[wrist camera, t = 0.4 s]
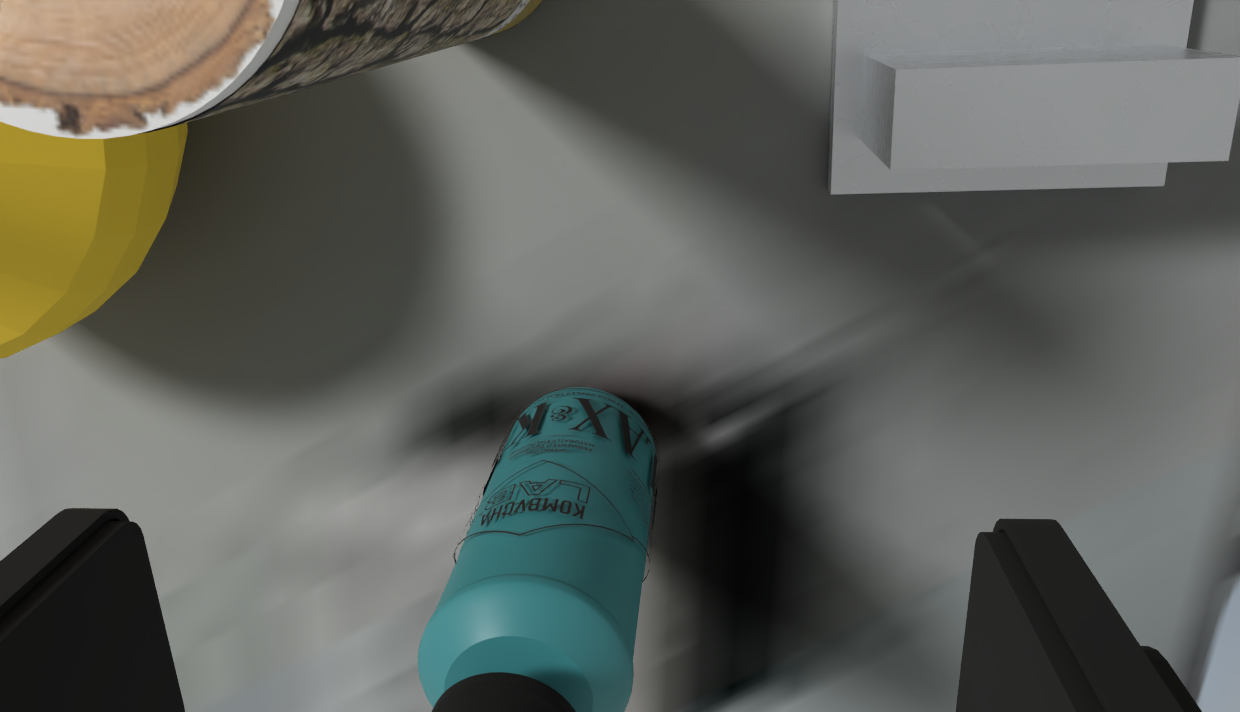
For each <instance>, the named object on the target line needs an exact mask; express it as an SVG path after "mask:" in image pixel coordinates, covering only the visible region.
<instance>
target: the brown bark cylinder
mask: <svg viewBox="0 0 1240 712" xmlns="http://www.w3.org/2000/svg"><path fill="white" fill-rule="evenodd" d="M541 1H542V0H0V122H3V123H6V124H9V125H12V126H15V127H18V128H22V129H25V130H28V131H32V132H37V133H42V134H46V135H51V136H57V137H67V138H77V139H106V138H114V137H123V136H130V135H134V134H140V133H149V132H153V131H157V130H161V129H165V128H169V127H173V126H177V125H180V124H184V123H187V122H191V121H194V120H198V119H201V118H205V117H208V116H212V115H215V114H219V113H222V112H226V111H229V110H233V109H236V108H240V107H243V106H247V105H250V104H254V103H257V102H261V101H264V100H268V99H271V98H275V97H278V96H282V95H285V94H289V93H292V92H296V91H299V90H303V89H306V88H310V87H313V86H317V85H320V84H324V83H327V82H331V81H334V80H338V79H341V78H345V77H348V76H352V75H355V74H359V73H362V72H366V71H369V70H373V69H376V68H380V67H383V66H387V65H390V64H394V63H397V62H401V61H404V60H408V59H411V58H415V57H418V56H422V55H425V54H429V53H432V52H436V51H439V50H443V49H446V48H449V47H453V46H456V45H460V44H463V43H467V42H470V41H472V40H473V41H474V40H477V39H480V38H483V37H486V36H489V35H492V34H496V33H499V32H502V31H504V30H507V29H509V28H511V27H513V26H515V25H516V24H518V23H519V22H521V21H522V20H524V19H525V18H526V17H527V16H528V15H530V14H531V13H532V12H533V11H534V10H535V9H536V8H537V6H538V5H539V4H540V3H541Z"/></svg>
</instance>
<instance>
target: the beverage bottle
mask: <svg viewBox="0 0 1240 712" xmlns="http://www.w3.org/2000/svg"><path fill="white" fill-rule="evenodd" d="M544 395H545V396H543V395H542V396H543V397H542V398H540V399H538V400H537V401H535V402H534V403H533V404H531V405H530V406H529V407H528V408H526V410H524V411H523V412H522V413H521V416H520V417H519V416H518V417H519V419H518V420H517V421H516V422H515V423H514V424H515V425H514V424H513V425H512V424H510V425H512V426H511V427H513V426H514V427H513V429H512V428H511V429H512V431H511V430H510V431H511V433H510V431H509V433H510V436H509V438H508V440H507V443H506V445H505V447H504V450H503V451H502V454H501V455H500V459H499V461H498V459H497V457H498V458H499V456H498V455H499V454H498V453H501V452H500V451H501V450H502V448H501V447H503V446H500V448H501V450H500V449H499V450H500V451H498V453H497V455H496V458H495V460H494V463H495V462H496V463H495V465H494V463H493V465H494V468H493V470H492V472H491V474H490V477H489V479H488V481H487V484H486V486H484V487H485V488H484V491H483V498H482V501H481V503H480V505H479V507H478V509H477V510H476V507H475V510H476V511H477V512H476V511H475V512H476V515H475V517H474V519H472V520H473V521H472V524H470V525H471V526H470V529H469V531H467V532H468V533H467V536H466V538H464V539H463V540H464V543H463V545H462V547H461V550H460V553H459V556H458V560H457V562H456V560H455V567H454V569H453V571H452V574H451V576H450V578H449V581H448V583H447V585H446V587H445V590H444V592H443V594H442V597H441V599H440V601H439V604H438V606H437V608H436V610H435V612H434V614H433V615H432V617H431V618H430V620H429V622H428V624H427V626H426V628H425V630H424V633H423V636H422V639H421V642H420V646H419V652H418V669H419V676H420V680H421V683H422V686H423V689H424V692H425V694H426V696H427V698H428V700H429V702H430V704H431V705H432V707H433V710H432V712H624V711H625V708H626V706H627V704H628V702H629V698H630V695H631V691H632V684H633V675H634V674H633V654H634V645H635V637H636V629H637V620H638V612H639V604H640V595H641V587H642V582H643V581H644V580H645V579H644V580H643V578H644V570H645V561H646V552H647V542H648V533H649V530H650V529H649V524H650V520H651V518H650V514H651V511H652V510H651V505H652V502H653V500H652V496H653V495H654V487H655V486H654V485H656V484H655V476H656V466H657V463H658V461H657V456H656V451H655V447H656V445H655V443H654V440H653V438H652V436H651V434H650V432H649V430H648V428H647V426H646V424H647V423H646V424H645V423H644V421H645V420H644V419H643V418H641V417H640V416H641V415H640V414H639V413H638V412H637V411H635V410H634V409H633V408H632V407H631V406H630V405H629V404H627V403H626V402H624V401H623V400H622V399H620V398H618V397H616V396H614V395H613V394H610V393H607V392H605V391H602V390H598V389H593V388H586V387H574V388H566V389H561V390H557V391H553V392H550V393H547V395H546V394H544ZM540 397H541V396H540ZM538 398H539V397H538ZM536 399H537V398H536ZM536 399H535V400H536ZM533 401H534V400H533ZM533 401H532V402H533ZM530 403H531V402H530ZM526 406H527V405H526ZM526 406H525V407H526ZM525 407H524V408H525ZM524 408H523V409H524ZM519 413H520V412H519ZM519 413H518V414H519ZM519 415H520V414H519ZM518 417H517V418H518ZM517 418H516V419H517ZM514 419H515V418H514ZM516 419H515V420H516ZM642 419H643V420H644V421H643V420H642ZM515 420H514V421H515ZM512 422H513V421H512ZM645 422H646V421H645ZM647 425H648V424H647ZM648 427H649V426H648ZM649 428H650V427H649ZM650 430H651V429H650ZM651 432H652V431H651ZM509 433H508V435H509ZM652 434H653V433H652ZM508 435H507V437H508ZM507 437H506V438H505V440H503V442H504V441H506V439H507ZM655 440H656V439H655ZM504 443H505V442H504ZM656 443H657V442H656ZM502 444H503V443H502ZM502 444H501V445H502ZM503 445H504V444H503ZM654 445H655V446H654ZM657 446H658V445H657ZM658 451H659V450H658ZM658 451H657V452H658ZM657 455H658V454H657ZM658 457H659V459H660V456H658ZM496 459H497V461H496ZM659 459H658V460H659ZM493 465H492V466H493ZM491 468H492V467H491ZM658 475H659V474H658ZM657 479H658V478H657ZM656 486H658V485H656ZM482 488H483V487H482ZM656 495H657V489H656V493H655V495H654V496H655V501H654V505H653V507H654V511H653V514H652V516H653V521H652V527H654V526H653V523H654V515H655V505H656ZM479 497H480V496H479ZM478 503H479V501H478ZM653 507H652V509H653ZM473 515H474V514H473ZM652 516H651V517H652ZM471 518H472V517H471ZM469 521H470V520H469ZM466 526H467V525H466ZM650 528H651V525H650ZM651 530H652V529H651ZM650 533H651V534H652V532H650ZM651 534H650V535H649V536H650V537H651ZM650 537H649V538H650ZM652 537H653V535H652ZM460 538H461V537H460ZM463 540H462V541H463ZM462 541H461V542H462ZM461 542H460V543H461ZM651 542H652V541H651ZM460 543H459V544H460ZM459 544H458V545H459ZM651 547H652V543H651ZM456 548H457V547H456ZM455 551H456V549H455ZM454 554H455V553H454ZM647 555H648V553H647ZM648 557H649V555H648ZM453 558H454V556H453ZM454 559H455V558H454ZM649 562H650V560H649ZM648 572H649V571H648ZM647 575H648V574H647ZM646 577H647V576H646ZM646 577H645V578H646Z"/></svg>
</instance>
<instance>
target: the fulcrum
mask: <svg viewBox="0 0 1240 712" xmlns="http://www.w3.org/2000/svg"><path fill="white" fill-rule="evenodd" d="M1193 3H1194V0H834V20H833V49H832V77H831V105H830V134H829V162H828V191H829V192H830V194H871V193H910V192H950V191H989V190H1028V189H1068V188H1107V187H1147V186H1164V184H1165V178H1166V171H1167V165H1168V162H1202V161H1228V160H1229V155H1230V149H1231V144H1232V138H1233V133H1234V127H1235V122H1236V116H1237V111H1238V105H1239V100H1240V56H1237V55H1230V54H1223V53H1216V52H1209V51H1203V50H1196V49H1189V48H1186V47H1187V40H1188V34H1189V28H1190V22H1191V15H1192V9H1193Z"/></svg>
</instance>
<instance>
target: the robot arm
mask: <svg viewBox="0 0 1240 712" xmlns="http://www.w3.org/2000/svg"><path fill="white" fill-rule="evenodd" d="M0 712H185V709H184V704H183V700H182V695H181V691H180V687H179V683H178V679H177V675H176V670H175V666H174V662H173V658H172V654H171V649H170V645H169V641H168V637H167V633H166V628H165V624H164V620H163V616H162V612H161V608H160V603H159V599H158V595H157V591H156V587H155V582H154V578H153V574H152V570H151V566H150V562H149V557H148V553H147V549H146V545H145V541H144V536H143V533H142V531H141V528H140V527H139V526H138V524H137V523H134V522H129V519H128V517H127V516H126V515H125V514H124V512H122V511H120V510H118V509H90V508H71V509H64V510H63V511H61V512H59V513H58V514H56V515H55V516H54V517H53V518H52V519H50V520H49V521H48V522H47V523H46V524H45V525H43V526H42V527H41V528H40V529H39V530H37V531H36V532H35V533H34V534H33V535H31V536H30V537H29V538H28V539H27V540H25V541H24V542H23V543H22V544H21V545H19V546H18V547H17V548H16V549H15V550H13V551H12V552H11V553H10V554H9V555H7V556H6V557H5V558H4V559H3V560H1V561H0ZM956 712H1202V711H1201V710H1200V708H1199V707H1198V705H1197V704H1196V702H1195V701H1194V699H1193V698H1192V697H1191V695H1190V694H1189V692H1188V691H1187V689H1186V688H1185V686H1184V685H1183V683H1182V682H1181V680H1180V679H1179V678H1178V676H1177V675H1176V673H1175V672H1174V670H1173V669H1172V667H1171V666H1170V664H1169V663H1168V662H1167V660H1166V659H1165V658H1164V657H1163V656H1162V655H1161V654H1160V653H1159V651H1158V650H1156V649H1153V648H1151V647H1149V646H1140V645H1139V643H1138V642H1137V640H1136V639H1135V637H1134V636H1133V634H1132V633H1131V631H1130V630H1129V628H1128V627H1127V625H1126V624H1125V622H1124V621H1123V619H1122V617H1121V616H1120V614H1119V613H1118V611H1117V610H1116V608H1115V607H1114V605H1113V604H1112V602H1111V601H1110V599H1109V598H1108V596H1107V595H1106V593H1105V592H1104V590H1103V589H1102V587H1101V586H1100V584H1099V583H1098V581H1097V580H1096V578H1095V577H1094V575H1093V574H1092V572H1091V571H1090V569H1089V568H1088V566H1087V565H1086V563H1085V561H1084V560H1083V558H1082V557H1081V555H1080V554H1079V552H1078V551H1077V549H1076V548H1075V546H1074V545H1073V543H1072V542H1071V540H1070V539H1069V537H1068V536H1067V534H1066V533H1065V531H1064V530H1063V528H1062V527H1061V525H1060V524H1059V523H1058V522H1057V521H1056V520H1052V519H999V520H998V521H997V522H996V524H995V527H994V530H993V532H980V533H979V534H978V536H977V539H976V543H975V550H974V559H973V567H972V576H971V585H970V593H969V602H968V611H967V619H966V628H965V637H964V645H963V654H962V662H961V671H960V680H959V688H958V697H957V706H956Z"/></svg>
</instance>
